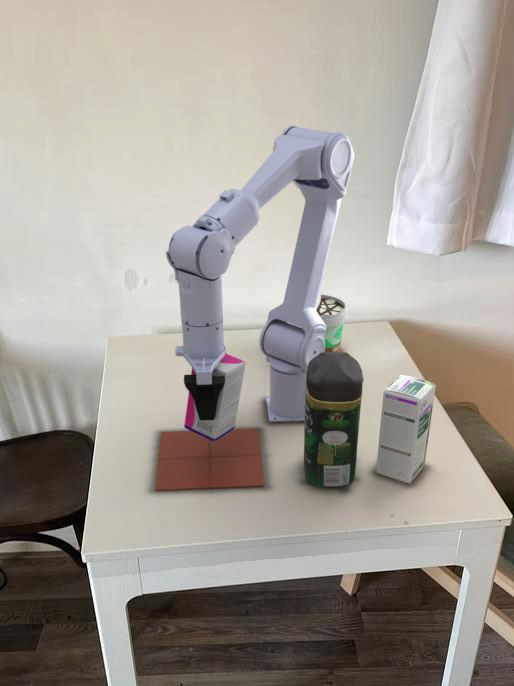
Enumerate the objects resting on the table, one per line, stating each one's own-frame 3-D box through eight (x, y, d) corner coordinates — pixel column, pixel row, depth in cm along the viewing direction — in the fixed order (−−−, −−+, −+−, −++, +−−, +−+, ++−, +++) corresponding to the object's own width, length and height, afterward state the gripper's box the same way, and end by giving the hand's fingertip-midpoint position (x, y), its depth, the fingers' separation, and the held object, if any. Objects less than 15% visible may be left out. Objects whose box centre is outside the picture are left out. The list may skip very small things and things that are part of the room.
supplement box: (235, 428, 106) (247, 361, 100) (214, 443, 102) (225, 374, 95) (204, 413, 108) (214, 346, 102) (182, 427, 104) (191, 358, 97)
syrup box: (410, 485, 103) (423, 399, 95) (374, 472, 106) (383, 388, 97) (424, 466, 107) (438, 382, 99) (389, 455, 110) (399, 372, 101)
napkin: (258, 429, 116) (258, 428, 115) (264, 486, 103) (264, 485, 102) (161, 433, 115) (161, 431, 114) (155, 491, 102) (155, 489, 101)
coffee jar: (302, 454, 110) (305, 346, 99) (352, 455, 110) (361, 346, 99) (303, 491, 102) (307, 377, 91) (357, 491, 102) (367, 378, 91)
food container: (341, 369, 134) (344, 320, 128) (309, 366, 135) (311, 317, 129) (348, 342, 144) (351, 295, 138) (318, 339, 145) (321, 293, 139)
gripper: (174, 299, 101) (181, 383, 109) (170, 341, 89) (178, 431, 97) (223, 298, 101) (226, 381, 109) (225, 340, 89) (228, 430, 97)
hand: (207, 405), depth 103 cm, fingers closed on supplement box, 7 cm apart
